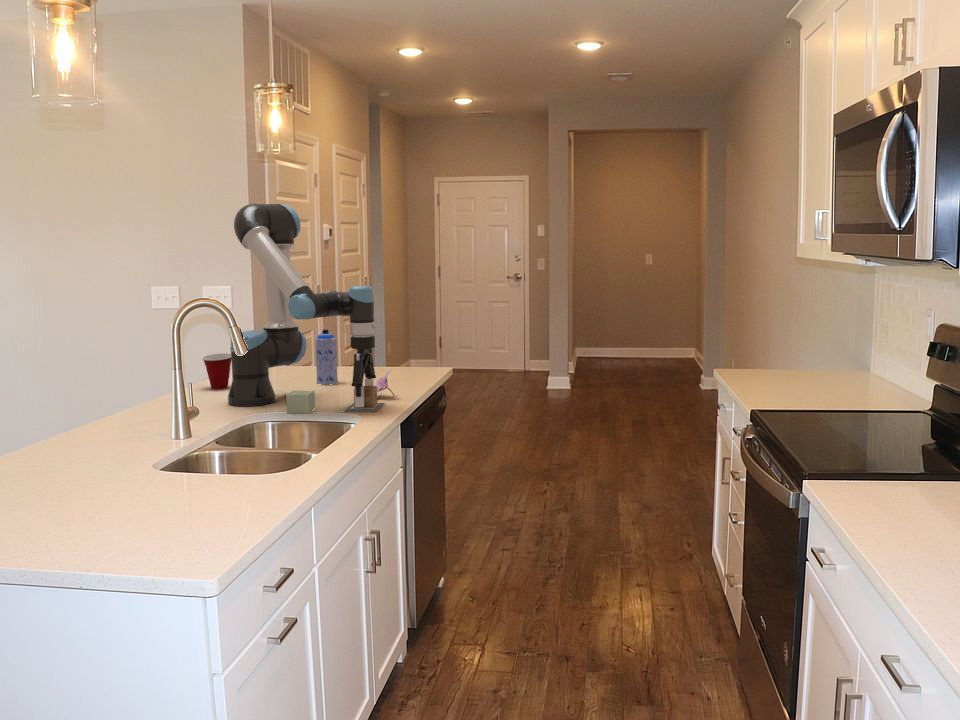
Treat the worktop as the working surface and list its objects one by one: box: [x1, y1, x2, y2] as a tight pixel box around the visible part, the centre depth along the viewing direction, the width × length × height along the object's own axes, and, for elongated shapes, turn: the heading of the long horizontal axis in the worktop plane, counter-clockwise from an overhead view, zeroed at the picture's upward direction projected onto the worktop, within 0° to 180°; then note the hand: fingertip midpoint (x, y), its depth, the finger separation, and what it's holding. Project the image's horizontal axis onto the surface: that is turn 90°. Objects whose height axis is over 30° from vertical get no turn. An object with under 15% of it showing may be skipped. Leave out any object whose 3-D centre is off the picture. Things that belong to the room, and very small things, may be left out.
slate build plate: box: [344, 402, 385, 413], centre depth 281 cm, size 10×12×1 cm
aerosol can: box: [314, 328, 339, 386], centre depth 327 cm, size 8×8×20 cm
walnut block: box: [353, 385, 378, 408], centre depth 280 cm, size 6×6×6 cm
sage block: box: [285, 390, 316, 415], centre depth 277 cm, size 7×7×6 cm
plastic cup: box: [201, 352, 232, 390], centre depth 320 cm, size 11×11×12 cm
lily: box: [375, 369, 396, 397], centre depth 298 cm, size 12×12×10 cm
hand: (364, 402), depth 281 cm, fingers open, 13 cm apart
